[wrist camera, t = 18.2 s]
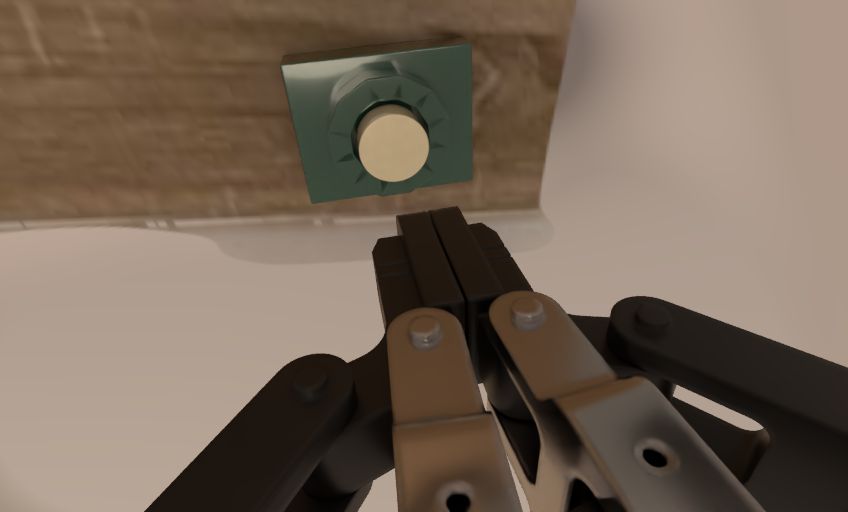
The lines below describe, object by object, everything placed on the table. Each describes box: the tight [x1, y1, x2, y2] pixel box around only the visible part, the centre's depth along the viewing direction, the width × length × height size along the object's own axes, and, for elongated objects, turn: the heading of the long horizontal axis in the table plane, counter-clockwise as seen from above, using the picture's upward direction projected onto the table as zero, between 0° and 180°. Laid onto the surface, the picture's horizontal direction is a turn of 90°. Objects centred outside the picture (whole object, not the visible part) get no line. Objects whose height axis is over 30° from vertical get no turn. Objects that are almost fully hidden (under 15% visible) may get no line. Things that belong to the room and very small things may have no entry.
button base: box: [280, 36, 473, 204], centre depth 27 cm, size 10×8×4 cm
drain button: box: [356, 104, 429, 182], centre depth 25 cm, size 4×4×2 cm
